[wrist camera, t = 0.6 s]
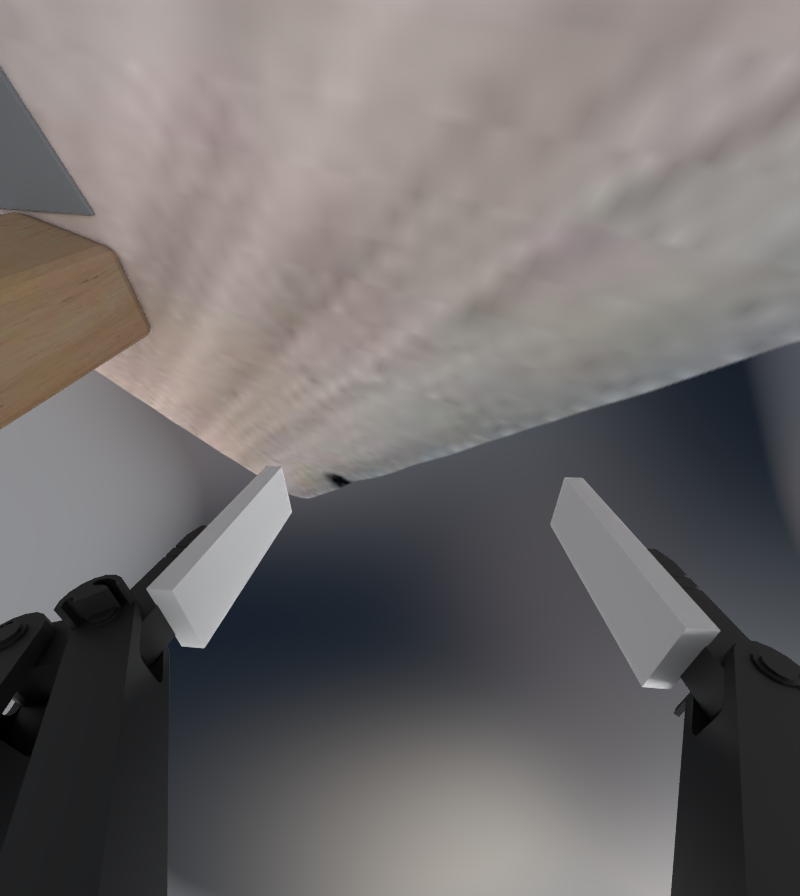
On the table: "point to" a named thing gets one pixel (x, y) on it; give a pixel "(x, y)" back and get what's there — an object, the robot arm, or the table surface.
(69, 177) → the mat
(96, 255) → the block
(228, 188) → the table surface
